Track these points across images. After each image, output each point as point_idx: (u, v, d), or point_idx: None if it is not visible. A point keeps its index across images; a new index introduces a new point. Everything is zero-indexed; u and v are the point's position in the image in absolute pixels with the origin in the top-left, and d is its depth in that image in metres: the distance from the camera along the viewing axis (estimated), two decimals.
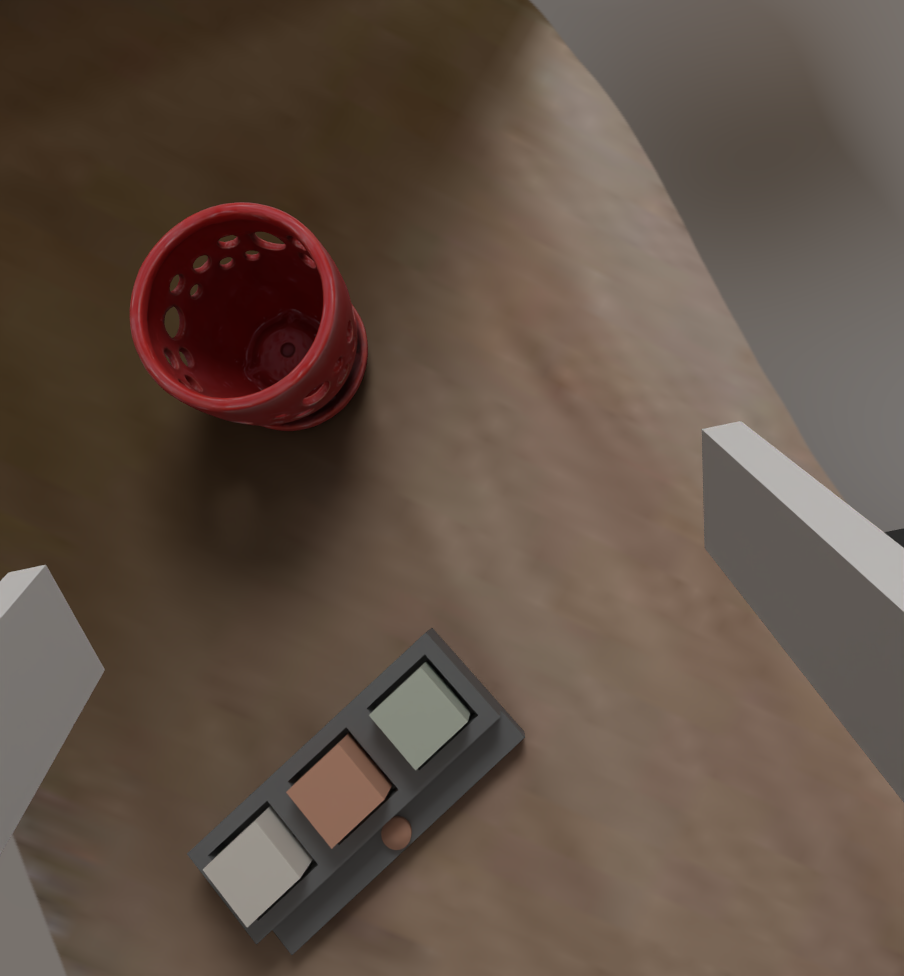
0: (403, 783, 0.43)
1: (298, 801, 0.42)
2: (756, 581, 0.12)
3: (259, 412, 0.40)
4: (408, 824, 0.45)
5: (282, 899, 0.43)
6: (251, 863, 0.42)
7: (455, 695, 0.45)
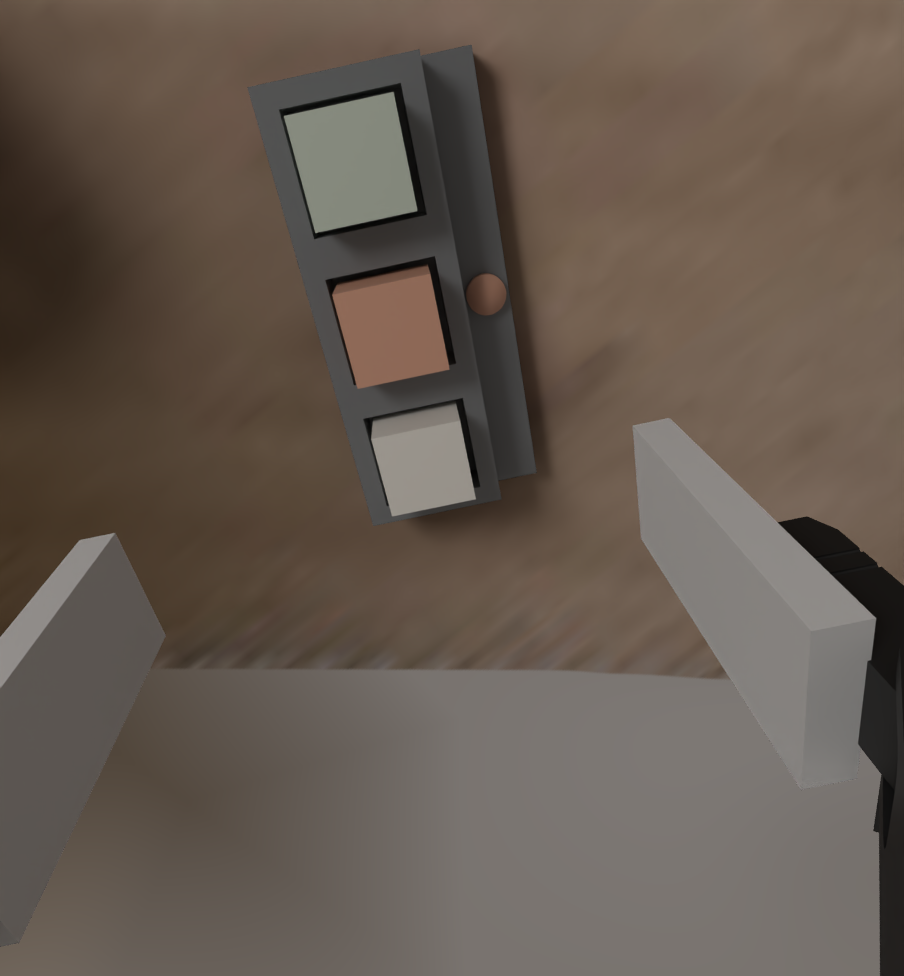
0: (431, 245, 0.31)
1: (376, 379, 0.31)
2: (678, 568, 0.12)
3: None
4: (485, 274, 0.33)
5: (475, 453, 0.36)
6: (415, 464, 0.33)
7: None
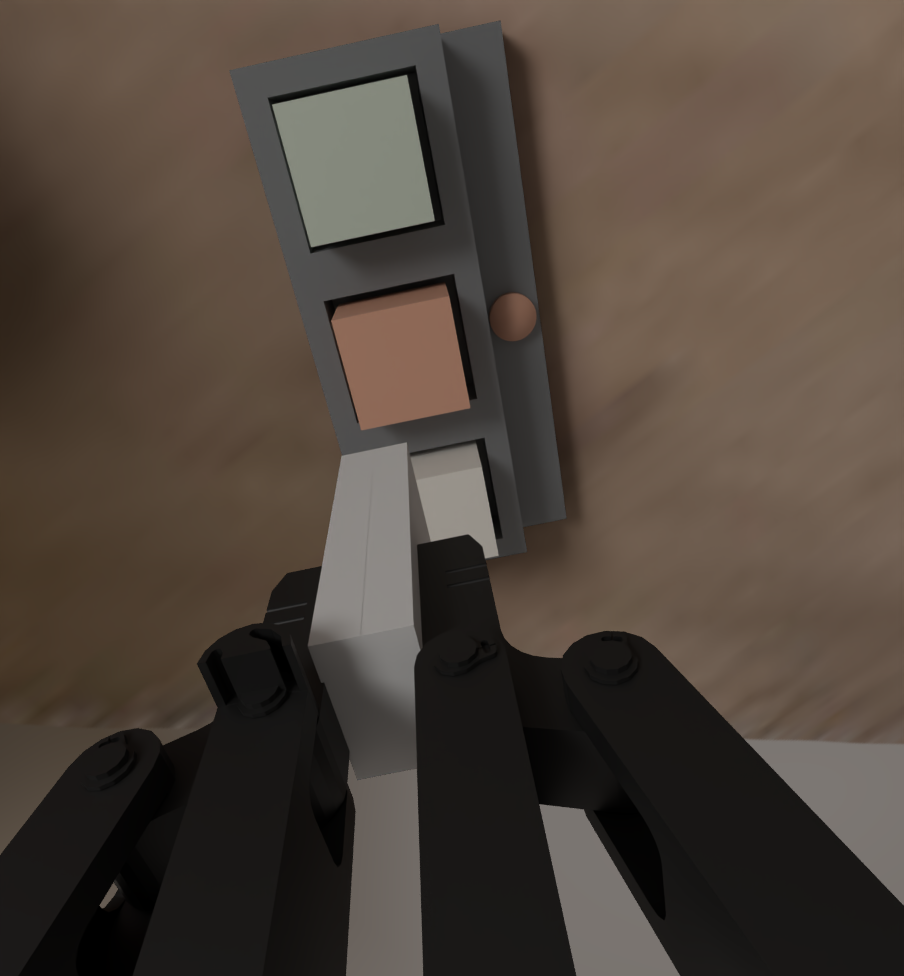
0: (449, 261, 0.26)
1: (383, 420, 0.26)
2: None
3: None
4: (512, 293, 0.28)
5: (497, 500, 0.31)
6: (428, 516, 0.29)
7: None
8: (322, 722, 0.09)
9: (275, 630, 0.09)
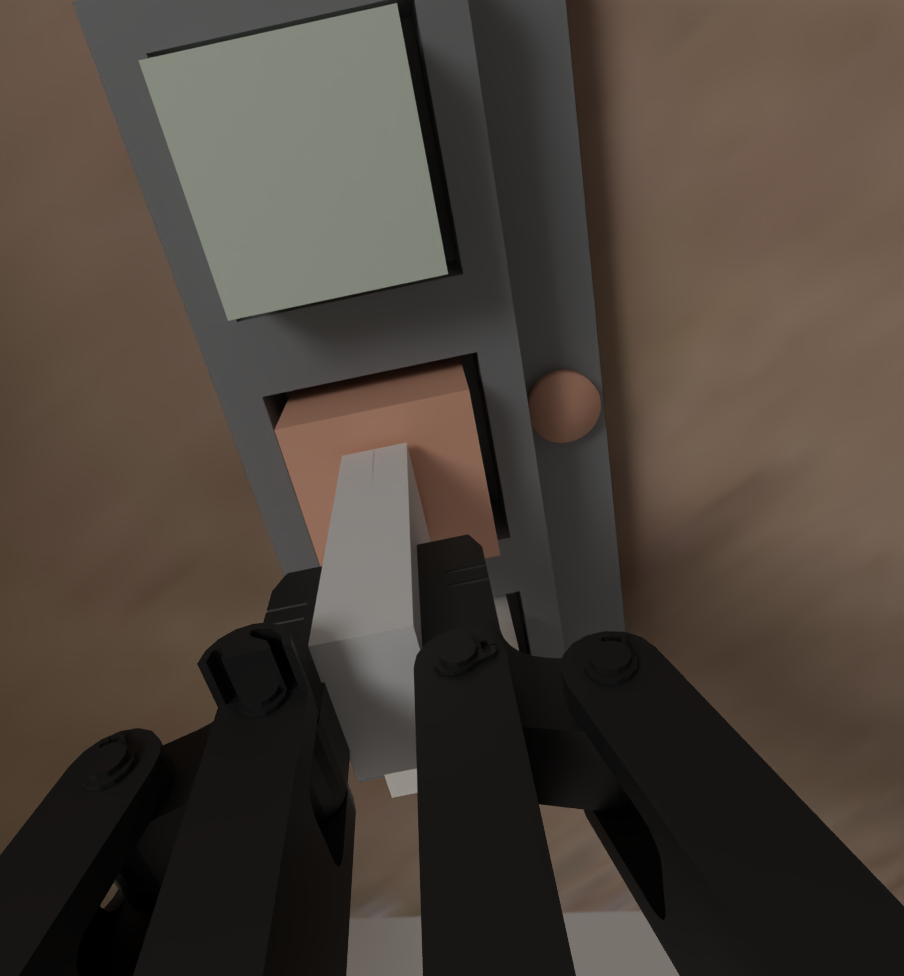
0: (470, 331, 0.16)
1: None
2: None
3: None
4: (564, 373, 0.18)
5: None
6: None
7: None
8: (323, 722, 0.09)
9: (276, 629, 0.09)
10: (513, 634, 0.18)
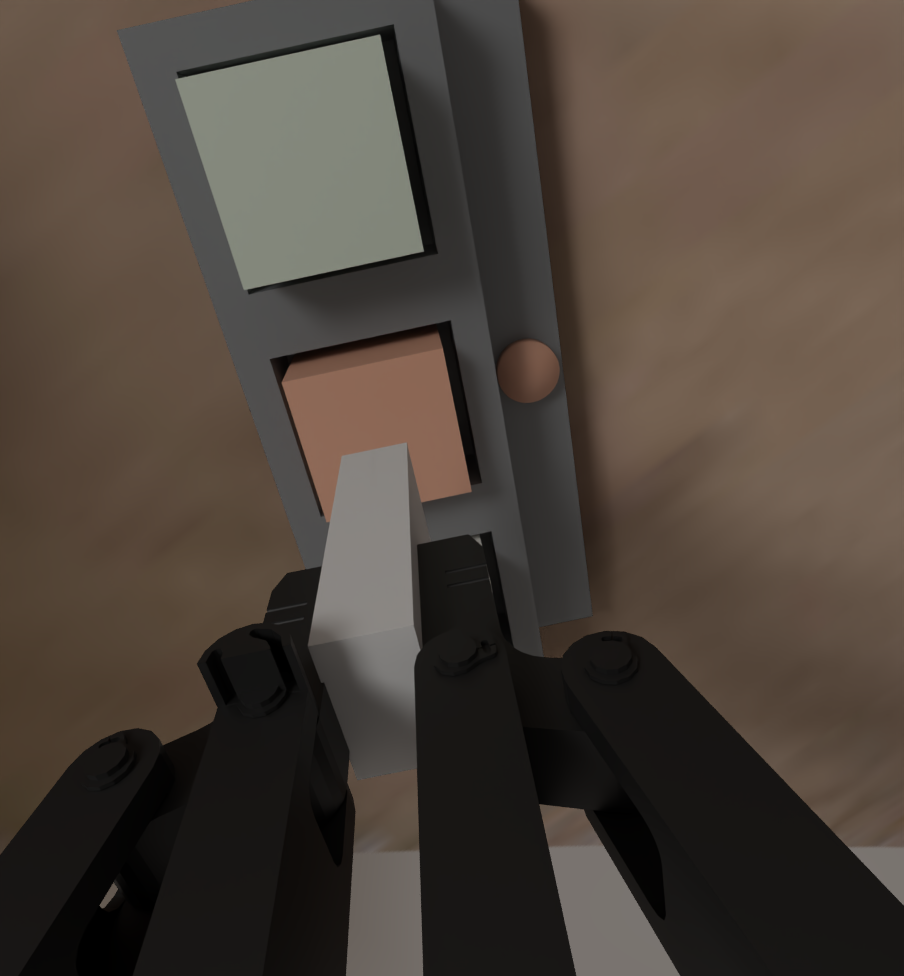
0: (444, 303, 0.19)
1: None
2: None
3: None
4: (527, 341, 0.21)
5: (507, 607, 0.23)
6: None
7: None
8: (322, 722, 0.09)
9: (276, 630, 0.09)
10: None
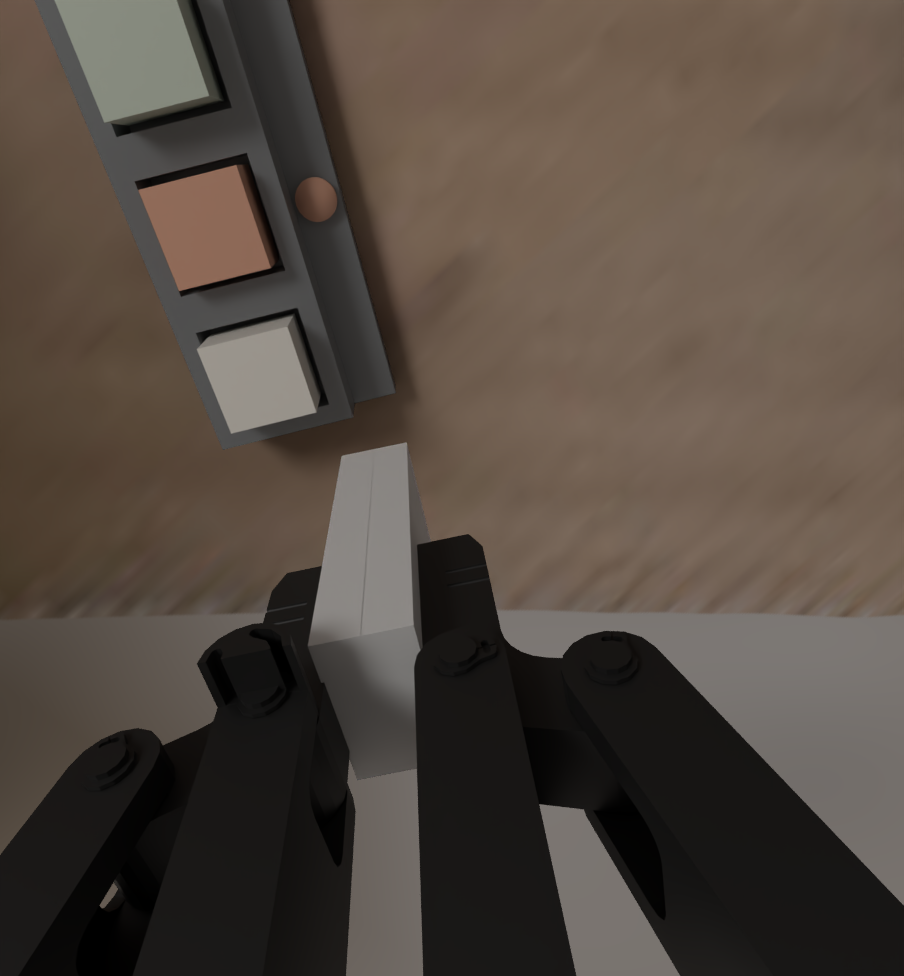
0: (240, 141, 0.30)
1: (196, 280, 0.31)
2: None
3: None
4: (312, 177, 0.32)
5: (318, 367, 0.35)
6: (247, 375, 0.32)
7: None
8: (322, 721, 0.09)
9: (276, 629, 0.09)
10: (288, 323, 0.32)
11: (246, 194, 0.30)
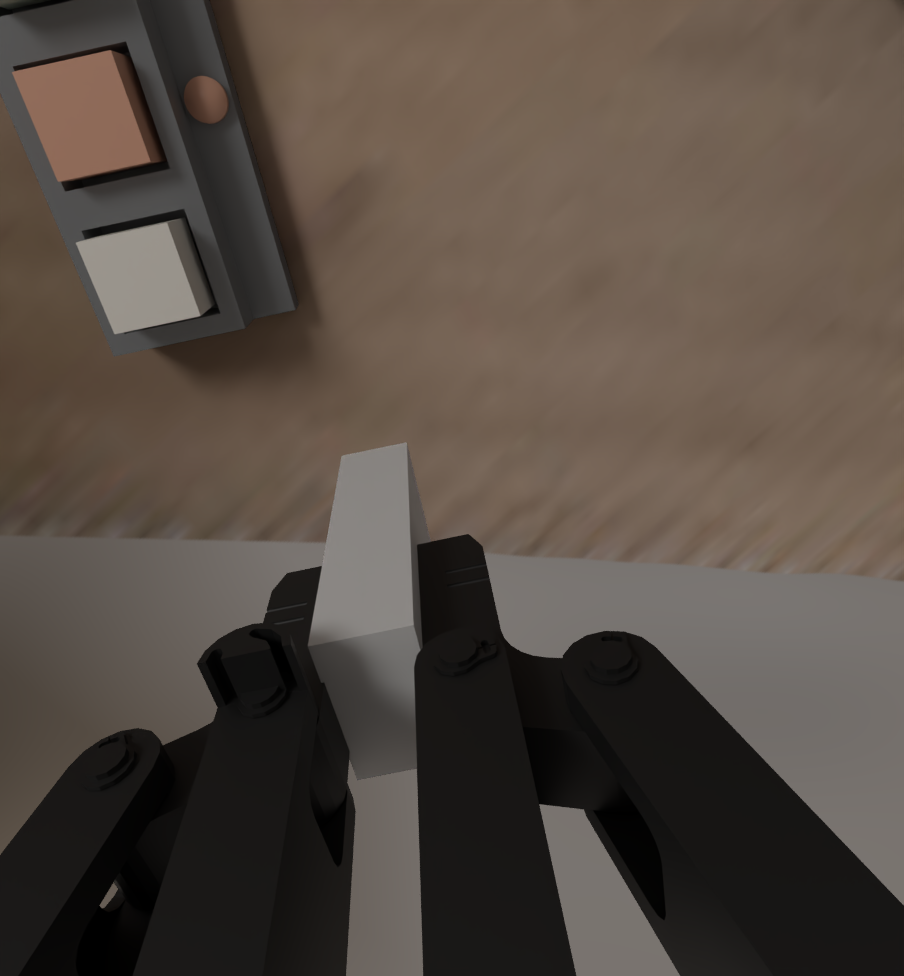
0: (119, 28, 0.30)
1: (75, 171, 0.31)
2: None
3: None
4: (200, 76, 0.32)
5: (208, 274, 0.34)
6: (128, 273, 0.32)
7: None
8: (322, 722, 0.09)
9: (276, 630, 0.09)
10: (170, 221, 0.32)
11: (123, 82, 0.30)
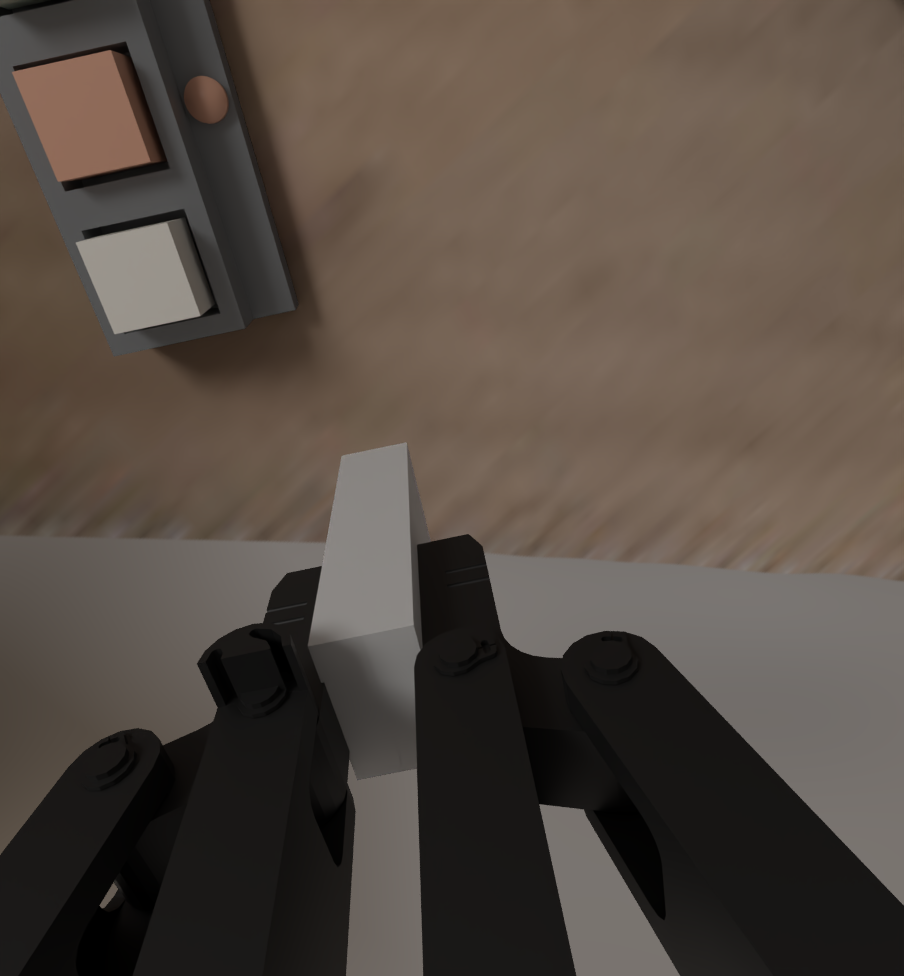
0: (119, 28, 0.30)
1: (75, 171, 0.31)
2: None
3: None
4: (200, 76, 0.32)
5: (208, 274, 0.34)
6: (128, 273, 0.32)
7: None
8: (322, 722, 0.09)
9: (276, 630, 0.09)
10: (170, 221, 0.32)
11: (123, 82, 0.30)
